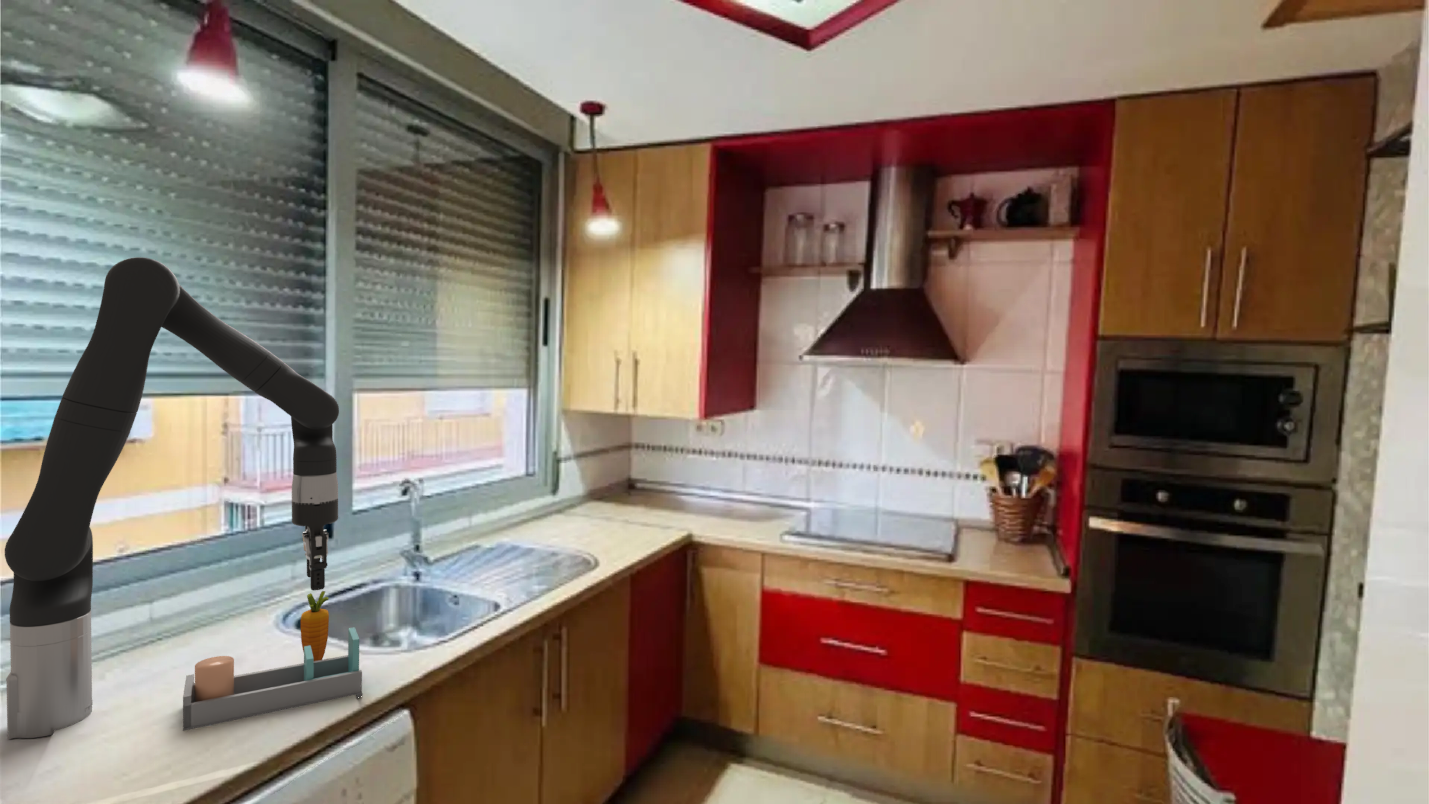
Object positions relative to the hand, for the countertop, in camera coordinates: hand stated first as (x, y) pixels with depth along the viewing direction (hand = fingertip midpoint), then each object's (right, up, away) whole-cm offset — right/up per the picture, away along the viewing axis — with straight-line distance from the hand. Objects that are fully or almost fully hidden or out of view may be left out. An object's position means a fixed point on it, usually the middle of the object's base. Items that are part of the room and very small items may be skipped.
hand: (315, 582), depth 131 cm
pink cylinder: (-7, -17, -17) cm, 25 cm away
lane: (0, -17, -12) cm, 21 cm away
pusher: (+7, -17, -7) cm, 19 cm away
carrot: (-1, -17, +1) cm, 17 cm away
